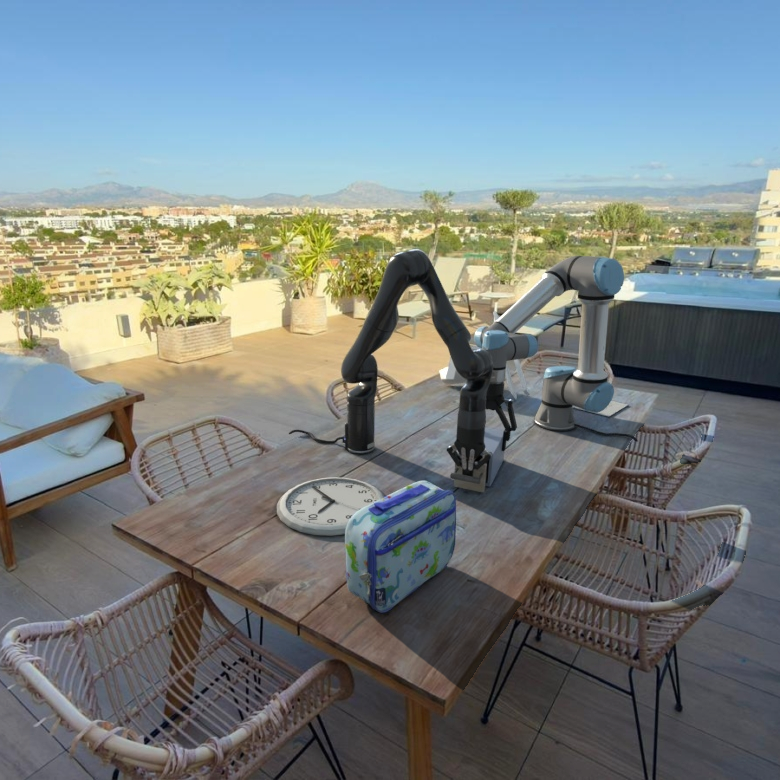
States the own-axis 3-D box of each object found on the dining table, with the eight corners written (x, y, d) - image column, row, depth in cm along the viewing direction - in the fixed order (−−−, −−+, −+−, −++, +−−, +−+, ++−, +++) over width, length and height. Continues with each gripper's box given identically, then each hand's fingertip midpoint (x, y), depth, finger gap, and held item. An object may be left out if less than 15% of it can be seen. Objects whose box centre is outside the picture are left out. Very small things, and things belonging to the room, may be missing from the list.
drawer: (479, 501, 144) (481, 473, 142) (448, 495, 147) (449, 467, 145) (497, 465, 166) (499, 441, 163) (470, 460, 169) (471, 436, 167)
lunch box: (374, 626, 100) (375, 530, 93) (338, 598, 107) (337, 508, 101) (459, 568, 117) (465, 484, 111) (424, 547, 124) (427, 467, 118)
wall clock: (392, 527, 129) (268, 531, 127) (391, 533, 130) (269, 537, 127) (383, 473, 158) (282, 475, 155) (383, 478, 158) (282, 480, 156)
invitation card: (608, 416, 214) (573, 407, 224) (608, 416, 214) (573, 408, 224) (628, 404, 229) (594, 396, 238) (628, 405, 229) (594, 397, 238)
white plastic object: (461, 429, 252) (437, 405, 227) (444, 352, 274) (420, 323, 250) (535, 404, 240) (518, 377, 215) (510, 326, 262) (492, 293, 237)
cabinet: (490, 487, 155) (492, 454, 151) (457, 480, 158) (459, 448, 155) (503, 460, 173) (506, 430, 169) (473, 454, 176) (475, 425, 173)
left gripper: (443, 424, 140) (440, 481, 146) (492, 432, 136) (487, 491, 141) (451, 415, 147) (448, 470, 153) (498, 422, 142) (493, 479, 148)
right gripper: (453, 379, 163) (449, 444, 170) (527, 388, 155) (520, 457, 162) (460, 373, 170) (456, 436, 177) (531, 382, 162) (524, 448, 168)
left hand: (467, 480), depth 147 cm, fingers closed
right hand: (486, 446), depth 169 cm, fingers closed on cabinet, 10 cm apart
